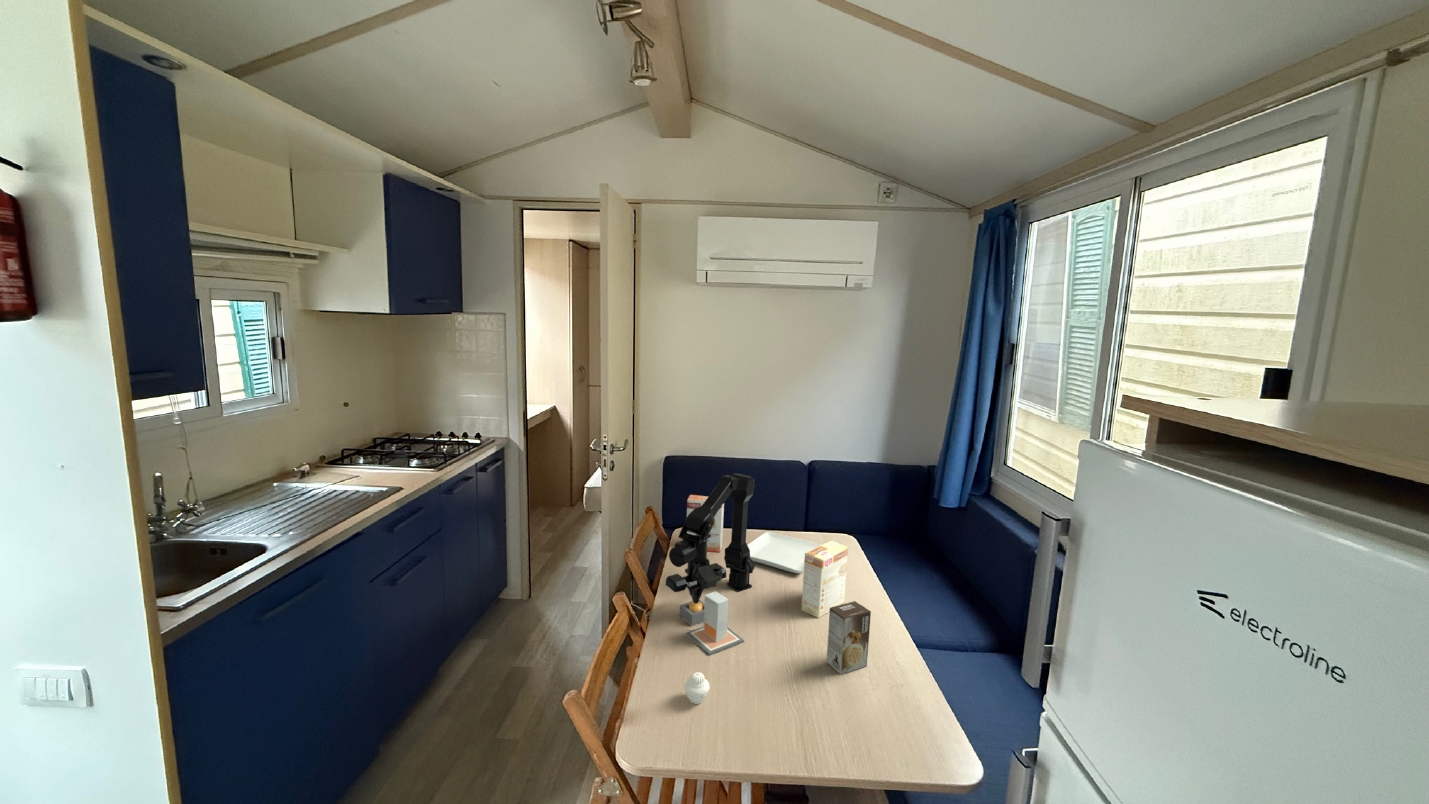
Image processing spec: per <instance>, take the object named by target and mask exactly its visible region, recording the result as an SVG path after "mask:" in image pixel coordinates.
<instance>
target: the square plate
mask: <svg viewBox="0 0 1429 804" xmlns="http://www.w3.org/2000/svg"><path fill="white" fill-rule="evenodd" d="M821 545H822V544H821V543H816V542H813V541H810V540H805V539H802V538H798V537H794V536H790V535H786V534H781V533H777V532H772V531H765V532H764V533H762V534H761V535H759V536H758V537H756V538H755V539H753V540H752V541H751V542H748V544H747V546H748V548H749V550H750V558H751V560H752V561H753V562H754V563H758V564H762V565H765V566H769V567H772V568H776V569H780V570H782V571H787V572H790V573H795V574H801V573H802V572H804V560H805V553H806V552H808V551H810V550H812V549H815V548H817V547H819V546H821Z"/></svg>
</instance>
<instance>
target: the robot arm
mask: <svg viewBox="0 0 1429 804" xmlns="http://www.w3.org/2000/svg"><path fill="white" fill-rule="evenodd" d="M755 489H756V482H755V479H754V478H753V476H749V475H744V474H740V473H733V474H732V475H726V474H725V475H722V476H721V477H720V479H719V481H718V483H717V484H716V486H715V487H714V489H713V490H712V491H711V492H710V494H709V495H708V498H707V499H706V501H705V502H704V503H703V505H702V506H700V507H698V508H696V509H694V510H693V511H692V512H691V513H690V514H689V515H688V516H687V515H686V518H685V519H684V522H683V525H682V527H681V529H680V532H679V534H678V538H679V539H682V540H680V541H677V542H675V543H674V547H672V548H671V549H670V550H669V553H668V558H669V561H670V563H671V564H672V565H673V566H674V567H676V568H680V567H683V566H684V565H686V564H687V568H684V573H686V575H684V576H682V575H680V574H679V573H674V574H672V575H668V576H666V578H665V585H666V586H667V588H669V589H670V590H671V591H672V592H673V593H678V592H679V593H680V592H682V591H686V589H687V590H688V592H689V595H690V596H691V599H692V601H693V602H694V603H695V604H697V603H698V601H699V600H700V599H701V596H702V593H703V591H704V590H709V589H710V588H715V587H716V586H717V583H718V582H721V581H722V579H725V578H727V570H726V569H729V574H728V581H727V582H726V585H727V586H729V587H730V588H732V590H734V591H736V592H741V591H744V590H748V589H751V588H753V586H752V584H750V576H751V575H750V574H753V572H754V570H755V566H756V564H755V563H756V562H754V561H752V560H751V558H750V550H749V548H748V546H747V545H748V544H747V530H748V529H747V528H748V527H747V525H748V524H747V523H748V512H749V511H748V509H749V508H748V507H749V501H750V499H751V498H752V497H753V495H754V491H755ZM729 497H731V499H732V502H733V503H732V519H731V521H732V522H731V541H730V543H729V544H728V546H727V547H725V549H724V556H723V560H724V562H725V567H723V566H722V565H720V564H719V563H717V562H715V563H711V562H710V558H707V557H708V551H707V539H708V538H710V537H711V535H710V534H709V533H710V531H711V529H712V527H713V525H714V517H715V515H716V513H717V512H718V510H719V509H720V508H721V506H722V505H723V503H724V504H725V503H726V501H727V499H728V498H729ZM687 531H688V532H691V533H695V535H692V534H688V533H687ZM710 563H711V564H710Z"/></svg>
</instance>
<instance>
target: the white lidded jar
mask: <svg viewBox="0 0 1429 804" xmlns="http://www.w3.org/2000/svg"><path fill="white" fill-rule="evenodd" d="M683 687H684V691H685V694H686V696H687V698H688V700H689V701H690V703H692V704H694V705H699V704H702V703H703V702H704V700H705V699H706V697H707V696H708V694H709V692H710V690H711V689H710V682H709V681H708V680H707V679H706V677H705V675H704V674H703V673H702V672H699V671H697V672H693V673H691V675H690V676H689V678H688V679H687V680H686V681H685V683H684V685H683Z"/></svg>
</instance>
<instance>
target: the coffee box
mask: <svg viewBox="0 0 1429 804" xmlns="http://www.w3.org/2000/svg"><path fill="white" fill-rule="evenodd" d="M871 612H872V611H871V610H869V609H868V608H866V607H865V606H863V604H860V603H859V602H857V601H855V600H853V601H851V602H850V601H849V602H847V603H843V604H841V605H839V606H835V607H831V608H830V611H829V617H828V619H829V620H828V631H827V632H828V635H827V652H826V663H827V665H829V666H830V667H832V668H833V669H834V670H836V672H838V673H839V675H844V674H847V673H850V672H853V671H857V670H858V669H861V668H864V667H865V668H866V667H867V665H868V656H869V641H870V628H871V615H872V614H871Z"/></svg>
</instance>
